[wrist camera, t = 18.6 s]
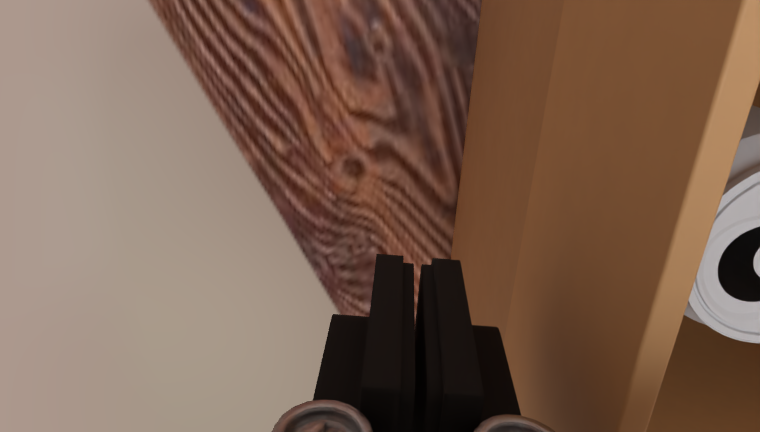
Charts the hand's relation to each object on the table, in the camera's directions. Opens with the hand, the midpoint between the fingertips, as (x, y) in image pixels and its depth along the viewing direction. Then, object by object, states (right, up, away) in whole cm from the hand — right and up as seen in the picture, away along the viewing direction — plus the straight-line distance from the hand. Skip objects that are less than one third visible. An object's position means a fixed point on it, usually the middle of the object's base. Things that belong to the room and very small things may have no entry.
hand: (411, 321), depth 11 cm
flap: (+3, 0, -1) cm, 3 cm away
